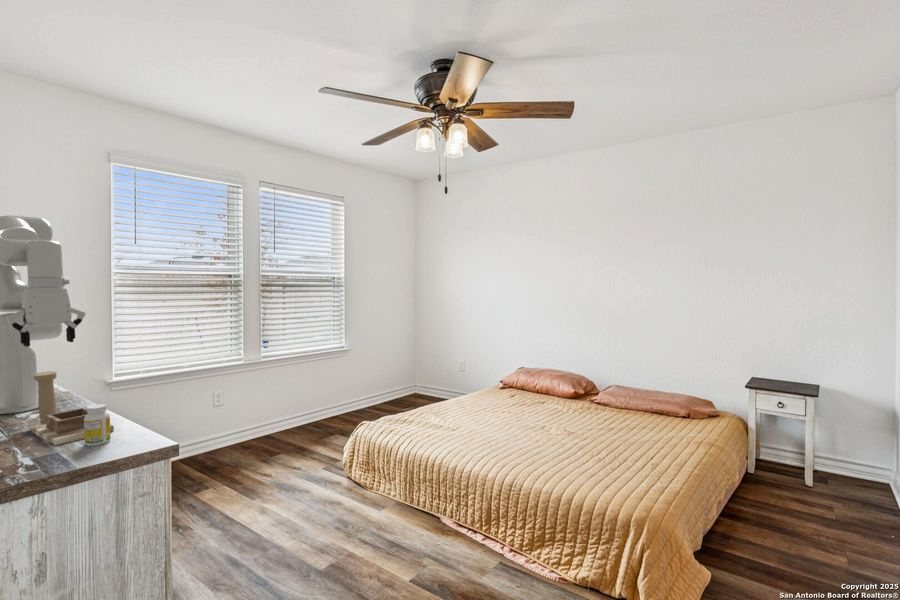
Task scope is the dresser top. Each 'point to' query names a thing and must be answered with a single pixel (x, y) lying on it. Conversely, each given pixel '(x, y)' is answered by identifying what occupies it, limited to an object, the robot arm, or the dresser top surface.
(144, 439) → the dresser top surface
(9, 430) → the dresser top surface
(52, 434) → the wooden base with box
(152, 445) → the dresser top surface
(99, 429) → the supplement bottle
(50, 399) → the handle
